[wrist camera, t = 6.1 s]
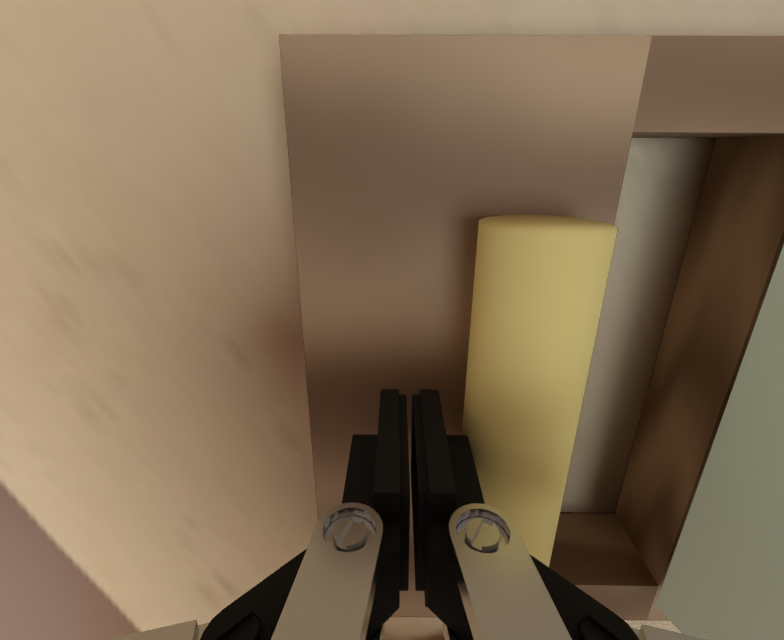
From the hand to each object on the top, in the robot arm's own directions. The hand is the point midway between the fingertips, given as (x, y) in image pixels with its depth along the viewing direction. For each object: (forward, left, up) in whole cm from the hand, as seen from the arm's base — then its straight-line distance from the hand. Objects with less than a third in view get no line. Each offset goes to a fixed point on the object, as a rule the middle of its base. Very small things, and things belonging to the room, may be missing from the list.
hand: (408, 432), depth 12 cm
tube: (0, -3, 0) cm, 3 cm away
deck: (0, -7, -5) cm, 8 cm away
